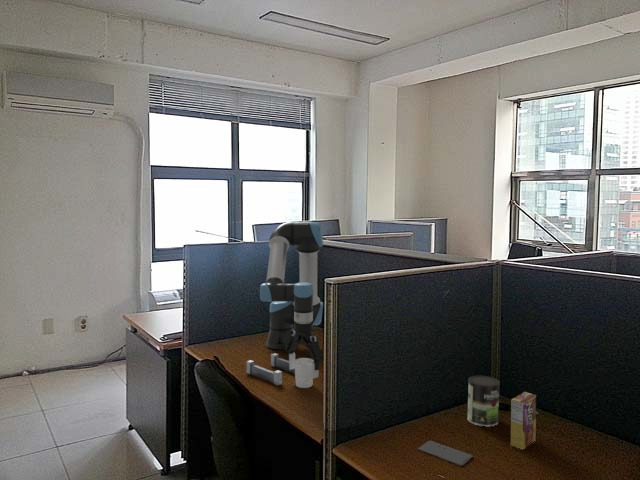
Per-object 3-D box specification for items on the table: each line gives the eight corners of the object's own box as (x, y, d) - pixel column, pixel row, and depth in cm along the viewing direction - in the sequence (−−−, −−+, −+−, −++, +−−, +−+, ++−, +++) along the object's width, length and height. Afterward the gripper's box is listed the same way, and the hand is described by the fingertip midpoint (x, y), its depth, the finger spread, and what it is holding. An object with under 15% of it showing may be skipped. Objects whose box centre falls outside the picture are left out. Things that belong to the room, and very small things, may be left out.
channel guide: (275, 364, 236) (274, 353, 235) (306, 375, 221) (306, 363, 221) (246, 373, 224) (246, 361, 224) (277, 385, 210) (277, 373, 210)
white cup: (315, 381, 214) (315, 358, 213) (312, 389, 206) (312, 364, 206) (295, 381, 215) (295, 357, 214) (292, 388, 207) (292, 363, 206)
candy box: (522, 437, 167) (524, 391, 165) (535, 442, 163) (537, 395, 162) (509, 446, 160) (510, 398, 159) (522, 451, 157) (524, 402, 156)
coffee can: (505, 423, 176) (506, 383, 175) (481, 429, 172) (483, 388, 171) (483, 411, 186) (484, 373, 184) (460, 417, 181) (461, 377, 180)
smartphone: (429, 439, 164) (474, 455, 154) (429, 442, 164) (474, 458, 154) (416, 448, 158) (462, 465, 148) (416, 451, 159) (462, 468, 148)
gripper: (275, 317, 215) (276, 367, 217) (318, 329, 197) (318, 383, 199) (289, 314, 220) (289, 363, 222) (332, 325, 202) (332, 378, 205)
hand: (303, 373), depth 211 cm, fingers open, 13 cm apart
